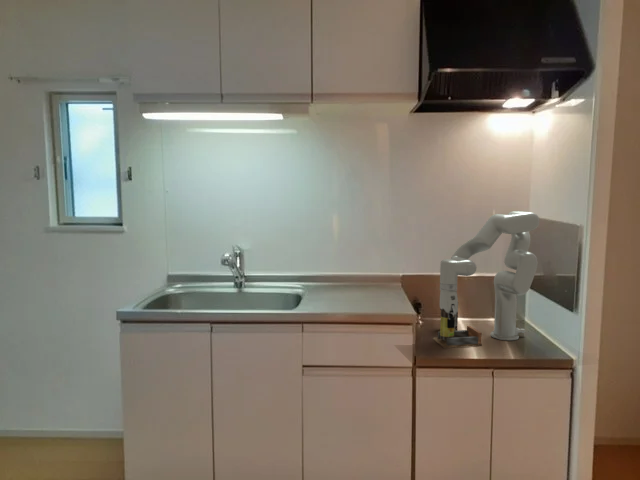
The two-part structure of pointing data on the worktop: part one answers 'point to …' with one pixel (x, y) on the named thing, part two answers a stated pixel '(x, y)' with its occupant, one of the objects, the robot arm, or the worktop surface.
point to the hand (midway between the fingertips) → (447, 325)
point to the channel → (462, 338)
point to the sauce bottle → (445, 327)
